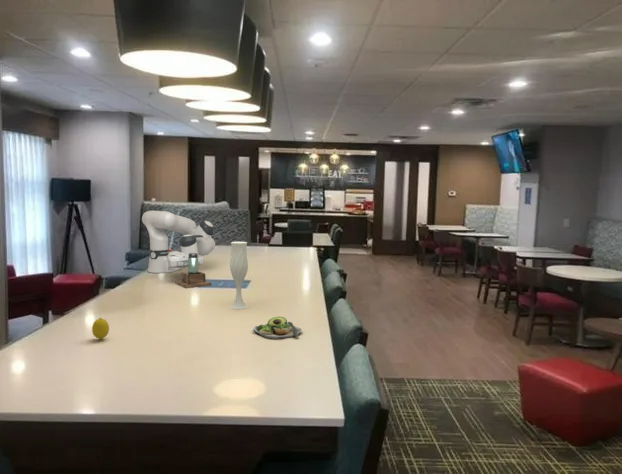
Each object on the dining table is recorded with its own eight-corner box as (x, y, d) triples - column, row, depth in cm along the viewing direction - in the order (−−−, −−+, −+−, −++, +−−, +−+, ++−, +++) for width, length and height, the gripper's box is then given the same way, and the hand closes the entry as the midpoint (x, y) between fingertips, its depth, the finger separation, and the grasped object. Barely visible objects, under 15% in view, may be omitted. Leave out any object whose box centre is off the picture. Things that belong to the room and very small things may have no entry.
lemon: (111, 340, 181) (111, 318, 180) (96, 343, 177) (95, 320, 176) (105, 336, 185) (105, 315, 184) (90, 339, 181) (89, 317, 180)
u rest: (175, 283, 286) (175, 272, 285) (199, 281, 295) (199, 270, 294) (186, 288, 274) (185, 276, 273) (211, 285, 283) (211, 273, 282)
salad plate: (314, 336, 191) (314, 324, 191) (274, 344, 181) (274, 331, 180) (286, 324, 207) (286, 313, 206) (247, 331, 196) (247, 319, 196)
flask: (188, 281, 286) (188, 253, 285) (198, 281, 287) (198, 253, 285) (187, 282, 281) (187, 254, 279) (197, 282, 281) (197, 254, 280)
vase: (250, 305, 237) (250, 241, 234) (246, 309, 229) (246, 243, 226) (231, 304, 238) (232, 241, 235) (227, 308, 230) (227, 243, 227)
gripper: (198, 264, 302) (208, 267, 291) (165, 267, 290) (174, 270, 279) (198, 253, 301) (208, 256, 290) (165, 256, 289) (174, 259, 278)
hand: (191, 263), depth 284 cm, fingers open, 8 cm apart
